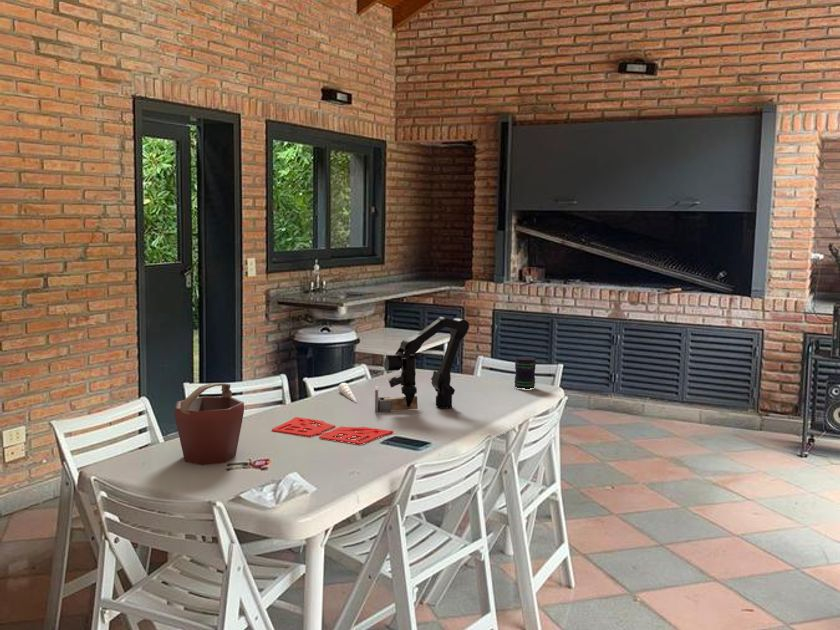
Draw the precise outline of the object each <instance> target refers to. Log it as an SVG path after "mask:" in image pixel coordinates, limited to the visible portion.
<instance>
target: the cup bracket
mask: <svg viewBox="0 0 840 630" xmlns="http://www.w3.org/2000/svg"><path fill="white" fill-rule="evenodd" d="M374 389H375V390H374V414H375V413H378V414H379V413H391V412H392V411H391V400H384V398H392V397H390V396H379V384H375V385H374Z"/></svg>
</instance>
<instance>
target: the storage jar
mask: <svg viewBox="0 0 840 630" xmlns="http://www.w3.org/2000/svg"><path fill="white" fill-rule="evenodd" d="M514 368H515V376H514V388H515V387H517V388H525V389H530V388H534V387H536V378H535V376H536V375H535V371H536V357H534V356H530V355H529V356H528V355H527V356H525V355H522V356H521V355H520V356H519V355H518V356H515V361H514Z"/></svg>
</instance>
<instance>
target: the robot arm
mask: <svg viewBox="0 0 840 630" xmlns="http://www.w3.org/2000/svg"><path fill="white" fill-rule="evenodd" d="M445 328H449V336H450V337H449V340H448V343H447V346H446V350H445V352H444V355H443V358H442V361H441V364H440V367H439V368H438V370H437V371H436V370H434V371H433V372H432V373H433V374H432V376H431V378H430V380H431V385H432V387H433V388H434V390H435V392H436V396H435V407H436V408H437V409H453V395H455V391H456V389H454V387H453V386H452V385H451V380H452V378H451V377H452V376H451V370H452V368H453V364H454V362H455V359H456V356H457V353H458V350H459V347H460V344H461V342H462V340H463V339H464V338H465V336H466V335H467V334H468V331H469V329H470V323H469V322H468V320H467V319H463V318H459V317H455V318H447V317H444V316H439V317H438V318H437V319H436V320H435V321H433V322H432V323H430V324H429V325H428V326H426V327H425V328H423V330H420V331H419V332H418V333H417V334H415V335H411V336H409V337H407V338H405V339H402V341H401V342H400V346H399V348H398V349H397V350H396V352H395V353H394V354H385V358H384V361H383V368H384V370H385V372H392V371H393V372H394V371H400V370H401V371H400V374H399V375H395V376H392V377H390V378H388V380H387V381H388V383H389V386H390V388H394V387H397V386H398V385H400V386H401V387H400V389H401V394H403V395H404V397H406V402H407V407H410V405H411V403H412V400H413V398H414V396H416V394H417V393H418V390H417V386H416V385H417V383H416V361H417V360H420V359H421V357H420V356H419V355H418V353H417V352H418V351H419V350H420V349H421V347H422V345H423V344H424V343H425V342H426V341H428V340H429V339H431V338H432V337H433V336H435V335H436V334H438V333H439V332H440V331H441V330H443V329H445Z"/></svg>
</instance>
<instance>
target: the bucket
mask: <svg viewBox="0 0 840 630" xmlns="http://www.w3.org/2000/svg"><path fill="white" fill-rule="evenodd" d="M218 386H219V387H220V386H221V396H200V395H201V394H203V393H204V392H205V391H206V390H208V389H211V388H214V387H218ZM232 394H233V391H232V390H231V384H229V383H225V382H224V383H222V382H215V383H208V384H204V385H201V386H199V387H198V388H196V389H195V390H194V391H193V392H191V393H190V394H189V395H188V396H187V397H186V398H185V399H183V400H182V399H181V400H179V401H178V400H177V401H176V403H175V406H174V419H175V420H174V421H175V424H176V429H177V433H178V437H179V442H180V446H181V447H180V448H181V451H182V454H183V456H182V457H183V459H184V463H189V464H195V465H199V466H207V465H217V464H224V463H225V464H226V463H227V462H229V461H230V460H232V459H234V458H235V457H236V455H237V451H238V445H239V440H240V435H241V429H242V426H243V425H242V424H243V419H244V413H245V402H244V401H241V400H240V399H236V398H234V397H233V395H232Z"/></svg>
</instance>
